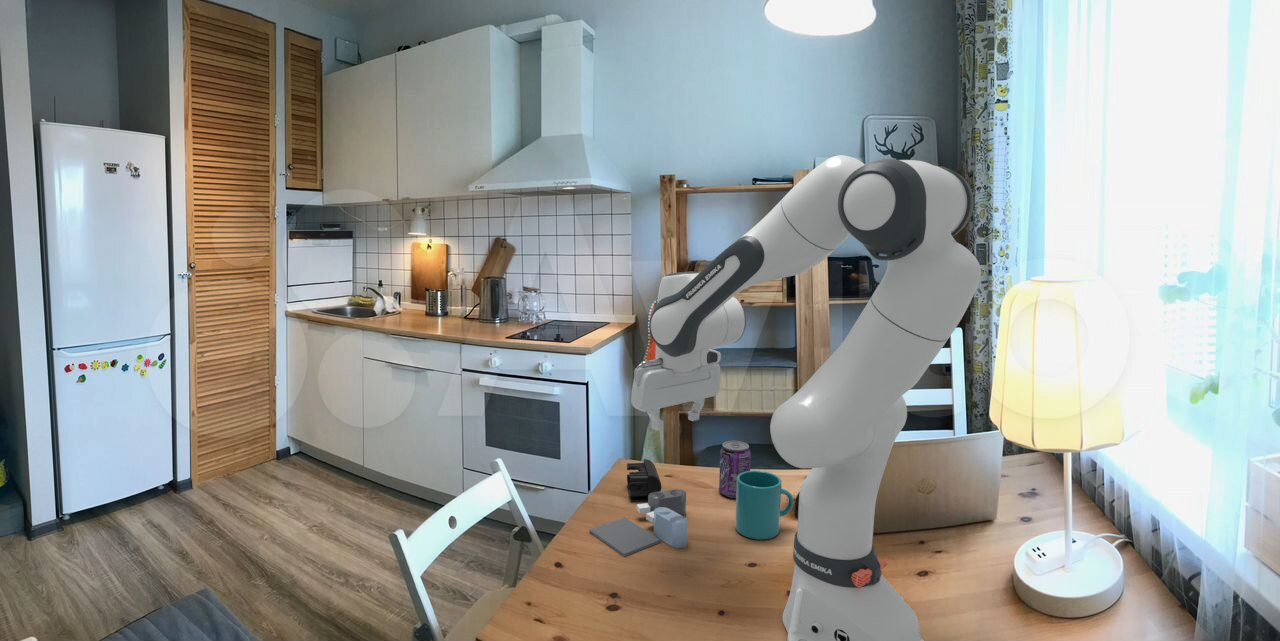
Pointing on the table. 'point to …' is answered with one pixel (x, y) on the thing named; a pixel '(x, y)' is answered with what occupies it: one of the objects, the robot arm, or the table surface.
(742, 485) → the cup
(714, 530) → the table surface
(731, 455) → the beverage can
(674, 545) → the blue connector
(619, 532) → the pad
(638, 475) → the end cap
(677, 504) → the dark gray connector
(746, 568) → the table surface
